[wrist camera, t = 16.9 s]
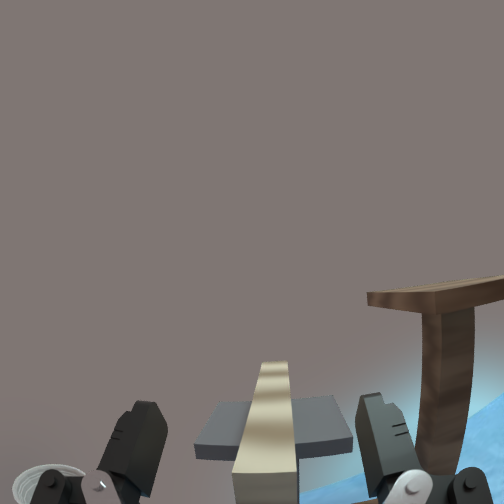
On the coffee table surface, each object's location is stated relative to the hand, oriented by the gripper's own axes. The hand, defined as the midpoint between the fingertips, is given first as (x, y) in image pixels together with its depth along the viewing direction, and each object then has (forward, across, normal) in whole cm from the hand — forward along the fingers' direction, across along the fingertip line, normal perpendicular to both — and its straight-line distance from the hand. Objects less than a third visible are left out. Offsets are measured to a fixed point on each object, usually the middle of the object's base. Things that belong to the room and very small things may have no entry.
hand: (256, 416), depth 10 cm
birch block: (+8, 0, +12) cm, 15 cm away
